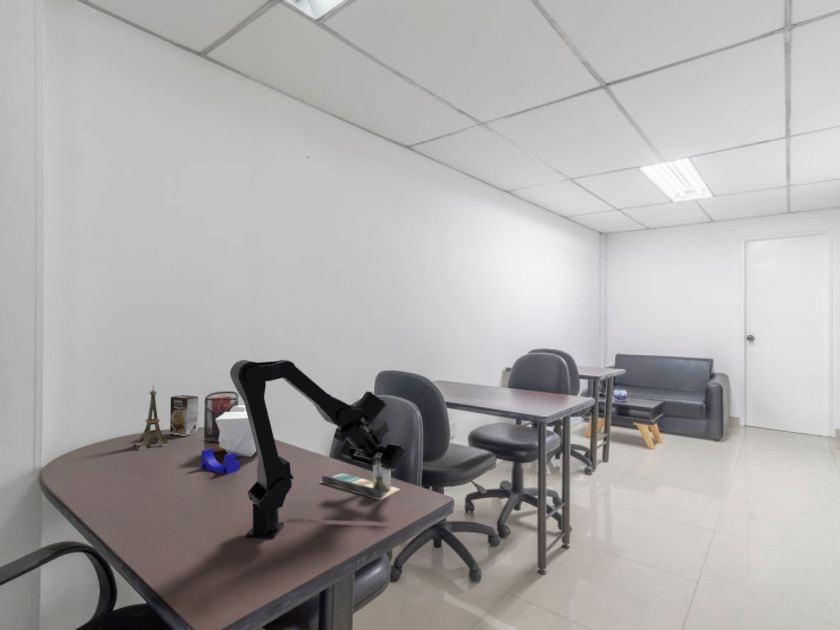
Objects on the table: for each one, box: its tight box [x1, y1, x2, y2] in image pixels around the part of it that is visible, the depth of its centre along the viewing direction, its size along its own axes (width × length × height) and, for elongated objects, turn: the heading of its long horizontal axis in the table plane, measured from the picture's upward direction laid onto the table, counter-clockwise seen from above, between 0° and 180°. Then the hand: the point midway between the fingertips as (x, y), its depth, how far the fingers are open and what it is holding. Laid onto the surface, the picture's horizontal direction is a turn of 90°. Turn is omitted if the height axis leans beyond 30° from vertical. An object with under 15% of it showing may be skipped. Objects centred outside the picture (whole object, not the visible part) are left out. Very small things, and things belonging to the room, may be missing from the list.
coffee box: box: [169, 394, 199, 434], centre depth 188 cm, size 9×6×16 cm
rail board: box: [320, 473, 401, 501], centre depth 127 cm, size 23×9×3 cm, turn 56°
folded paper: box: [215, 404, 257, 458], centre depth 161 cm, size 17×24×17 cm
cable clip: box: [201, 447, 240, 475], centre depth 144 cm, size 12×4×6 cm, turn 65°
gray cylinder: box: [372, 455, 392, 492], centre depth 125 cm, size 5×5×11 cm
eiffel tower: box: [136, 386, 169, 448], centre depth 171 cm, size 11×11×25 cm
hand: (384, 467), depth 126 cm, fingers open, 7 cm apart
